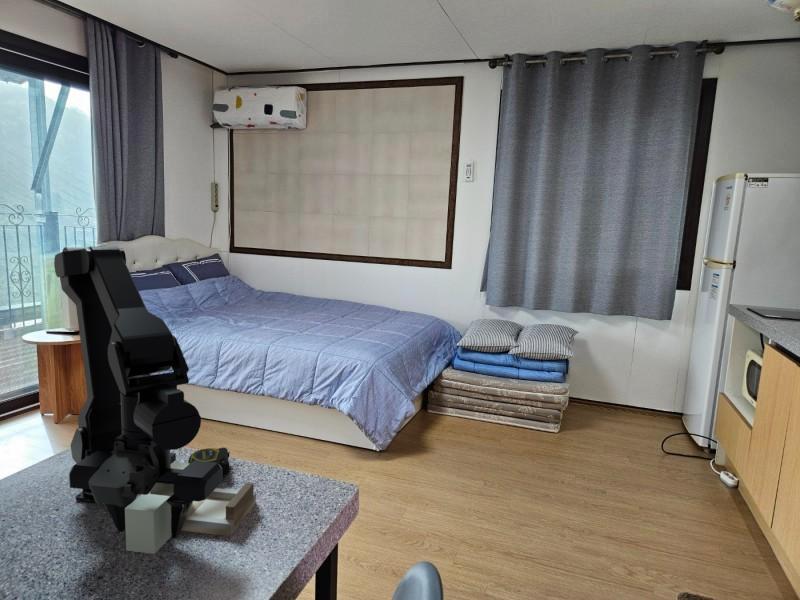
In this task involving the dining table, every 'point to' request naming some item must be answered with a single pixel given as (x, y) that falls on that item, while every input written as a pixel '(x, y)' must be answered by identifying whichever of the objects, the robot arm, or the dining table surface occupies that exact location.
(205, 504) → the open tray
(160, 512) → the block
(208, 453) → the tape measure
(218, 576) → the dining table surface
